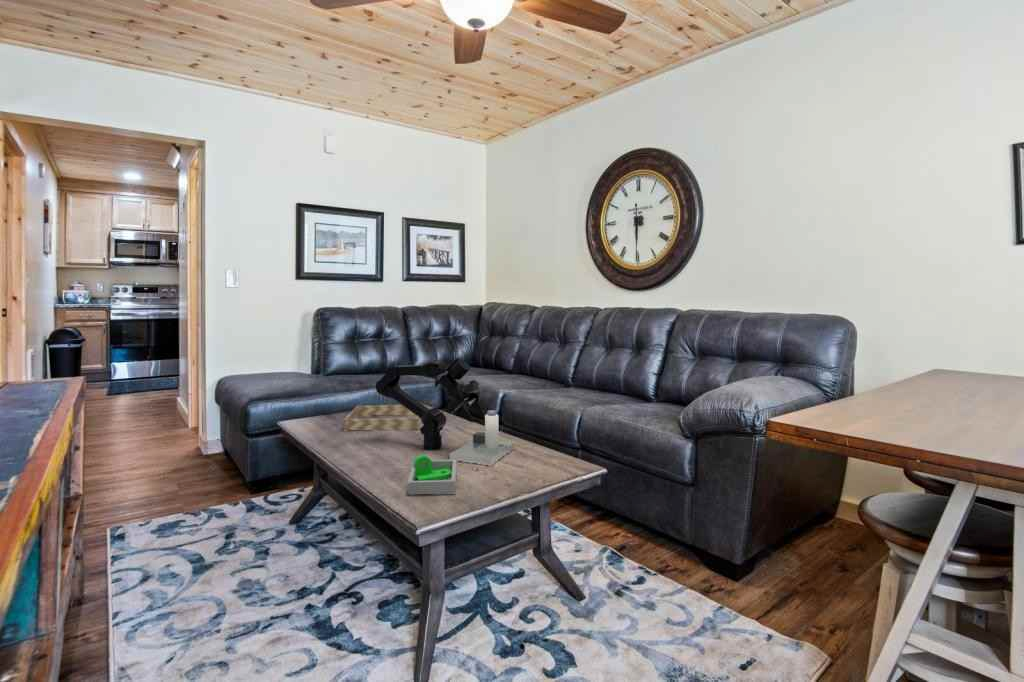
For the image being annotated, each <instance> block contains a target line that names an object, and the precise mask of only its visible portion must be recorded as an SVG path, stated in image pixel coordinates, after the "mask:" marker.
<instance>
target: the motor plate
mask: <svg viewBox="0 0 1024 682" xmlns="http://www.w3.org/2000/svg"><path fill="white" fill-rule="evenodd" d="M513 450H515V442H512V441H505V440H504V441H503V440H499V449H498V450H490V449H485V432H480V431H476V432H475V433H473V434H472V440H470V441H468V442H467V443H466V444H464V445H462V446H460V447H459V448H457V449H456V450H453V451H452V452H450V453H449V460H457V462H458V461H462V462H461V463H465V462H469V463H468V464H472V463H477V464H476V465H479V464H482V465H481V466H486V465H488V466H487V467H492V466H493V465H495V464H496V463H498V462H499V461H500V460H502V459H503V458H504V457H505V456H506V454H507V453H508V454H509V453H510V451H511V452H512V451H513ZM508 454H507V455H508ZM503 456H504V457H503ZM502 457H503V458H502ZM499 459H500V460H499ZM498 460H499V461H498ZM495 462H496V463H495ZM491 465H492V466H491Z"/></svg>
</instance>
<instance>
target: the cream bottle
mask: <svg viewBox="0 0 1024 682" xmlns="http://www.w3.org/2000/svg"><path fill="white" fill-rule="evenodd" d="M499 432H500V431H499V414H497V410H493V409H491V410H489V409H488V410H487V412H486V414H485V416H484V433H485V449H490V450H498V449H499V441H500V440H499Z"/></svg>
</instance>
